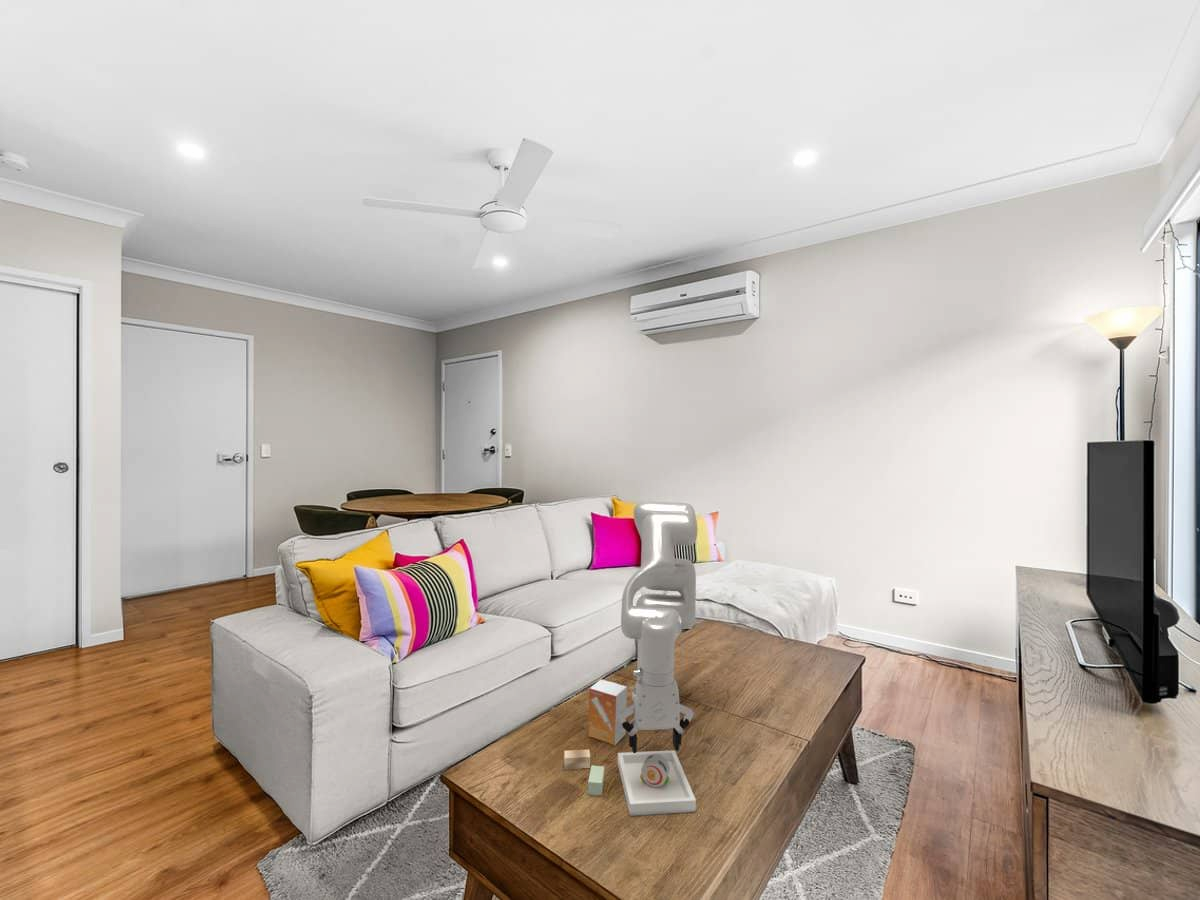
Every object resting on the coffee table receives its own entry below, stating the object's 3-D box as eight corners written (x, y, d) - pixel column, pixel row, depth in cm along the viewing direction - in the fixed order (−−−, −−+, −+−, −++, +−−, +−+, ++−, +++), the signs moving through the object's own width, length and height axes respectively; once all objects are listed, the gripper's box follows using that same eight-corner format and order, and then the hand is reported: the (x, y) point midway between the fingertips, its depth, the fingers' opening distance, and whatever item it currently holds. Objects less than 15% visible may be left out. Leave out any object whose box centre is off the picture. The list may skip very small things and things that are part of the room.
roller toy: (665, 792, 119) (666, 767, 119) (638, 785, 121) (638, 760, 121) (670, 781, 123) (671, 756, 123) (643, 774, 125) (644, 749, 125)
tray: (617, 763, 130) (617, 752, 130) (674, 760, 132) (674, 750, 132) (630, 815, 112) (630, 804, 112) (695, 811, 114) (696, 800, 114)
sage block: (591, 778, 125) (591, 765, 125) (604, 779, 124) (604, 766, 124) (587, 795, 119) (588, 781, 119) (601, 796, 119) (601, 783, 118)
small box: (587, 737, 141) (588, 687, 141) (599, 725, 147) (600, 678, 146) (615, 746, 137) (616, 695, 137) (626, 734, 143) (627, 685, 142)
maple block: (564, 770, 127) (564, 758, 127) (564, 762, 130) (564, 750, 130) (590, 769, 128) (590, 757, 128) (588, 761, 131) (589, 749, 131)
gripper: (621, 684, 117) (619, 761, 118) (699, 681, 119) (696, 756, 120) (616, 668, 124) (614, 740, 125) (689, 665, 126) (687, 737, 127)
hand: (654, 748), depth 122 cm, fingers open, 9 cm apart
